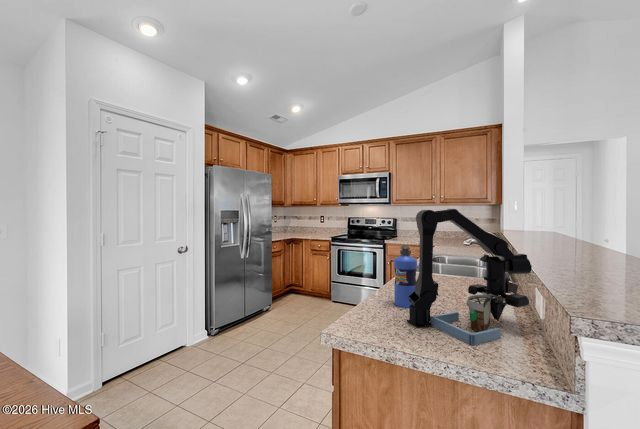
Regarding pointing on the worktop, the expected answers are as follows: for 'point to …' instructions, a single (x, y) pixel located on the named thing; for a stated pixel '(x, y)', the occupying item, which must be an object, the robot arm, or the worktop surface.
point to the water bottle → (404, 277)
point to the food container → (479, 312)
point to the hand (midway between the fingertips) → (496, 319)
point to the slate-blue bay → (470, 338)
